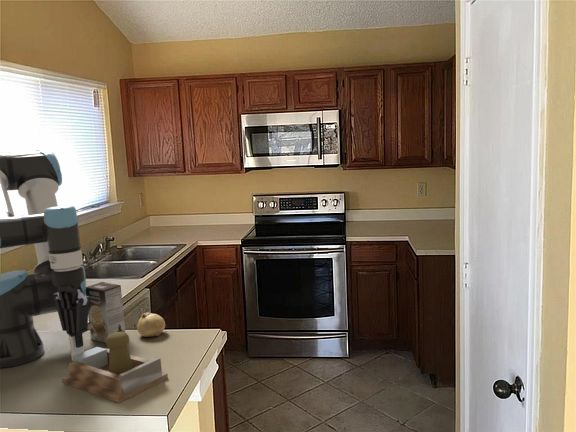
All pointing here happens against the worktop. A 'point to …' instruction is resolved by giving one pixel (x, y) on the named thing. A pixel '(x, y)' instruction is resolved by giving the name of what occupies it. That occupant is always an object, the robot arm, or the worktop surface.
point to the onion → (150, 325)
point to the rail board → (108, 392)
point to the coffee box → (105, 310)
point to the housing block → (93, 357)
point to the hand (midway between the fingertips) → (78, 358)
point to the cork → (118, 353)
